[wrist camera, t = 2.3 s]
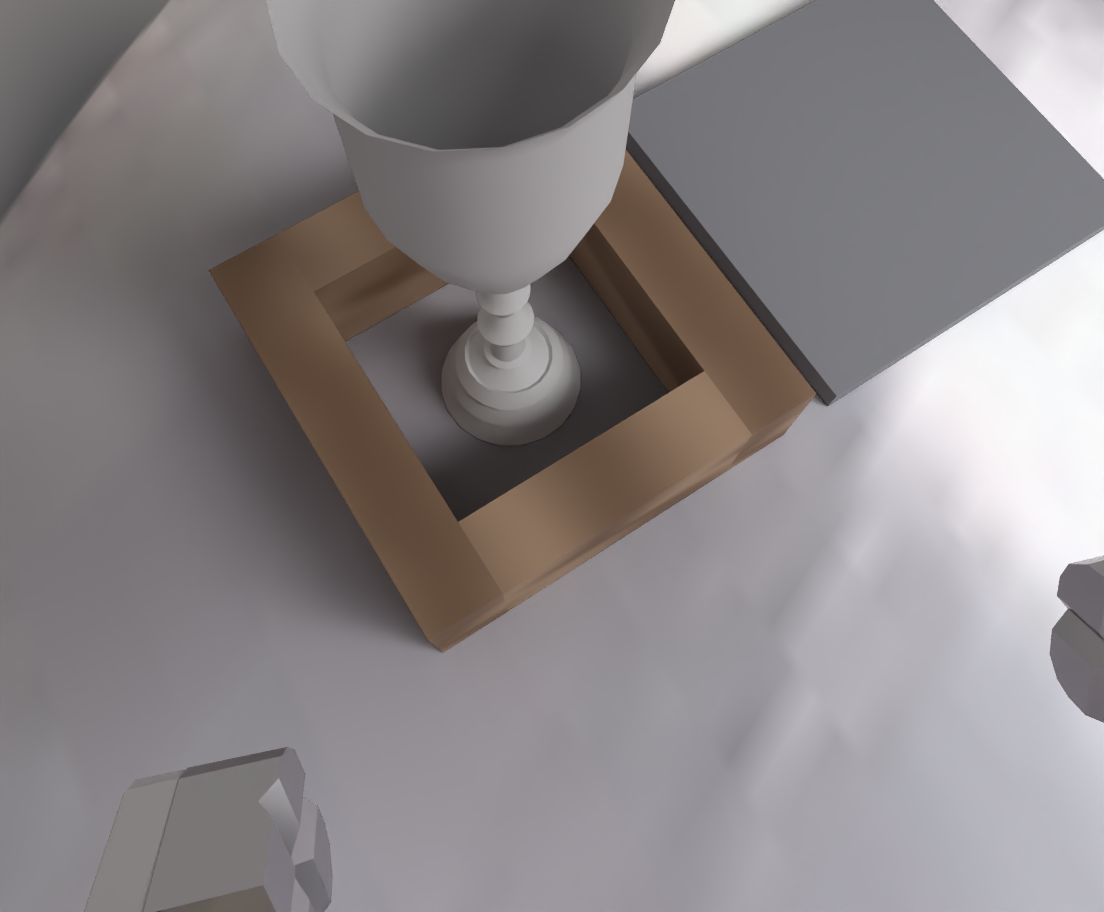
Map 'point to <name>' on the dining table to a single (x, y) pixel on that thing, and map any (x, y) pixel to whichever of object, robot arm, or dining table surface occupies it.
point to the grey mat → (863, 180)
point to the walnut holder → (565, 486)
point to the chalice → (482, 160)
